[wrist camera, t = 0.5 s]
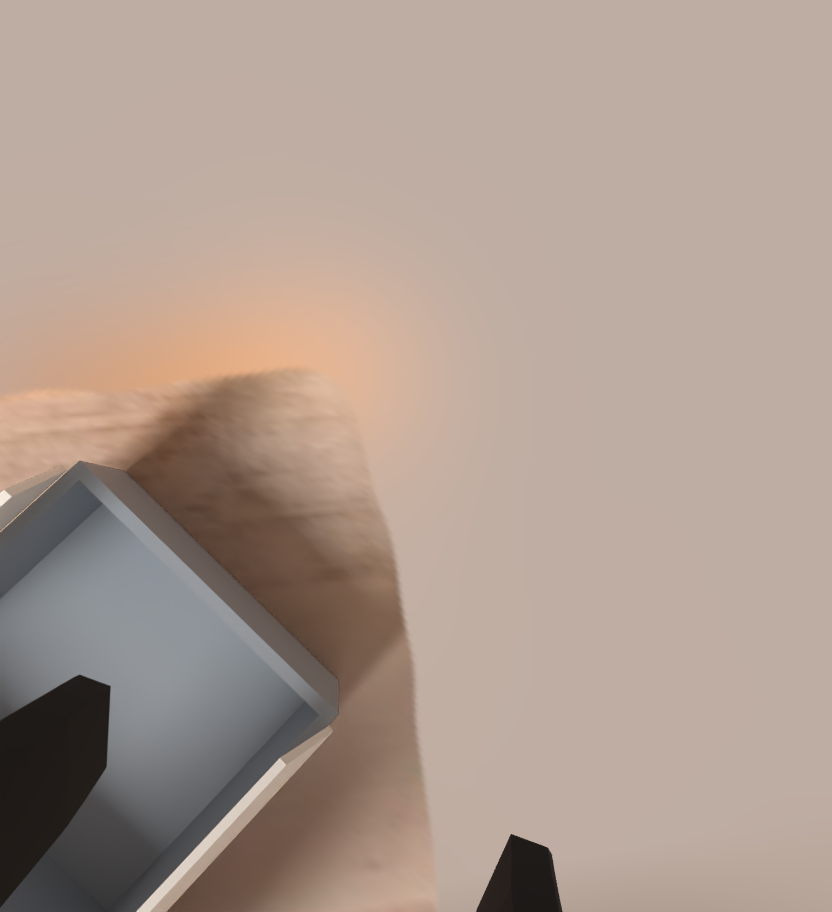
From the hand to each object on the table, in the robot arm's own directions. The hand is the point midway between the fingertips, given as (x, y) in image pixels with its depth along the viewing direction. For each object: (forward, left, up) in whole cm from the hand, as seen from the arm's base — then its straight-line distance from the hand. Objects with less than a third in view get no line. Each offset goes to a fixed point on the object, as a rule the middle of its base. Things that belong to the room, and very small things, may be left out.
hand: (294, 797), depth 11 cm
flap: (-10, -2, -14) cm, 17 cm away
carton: (-10, +5, -24) cm, 26 cm away
